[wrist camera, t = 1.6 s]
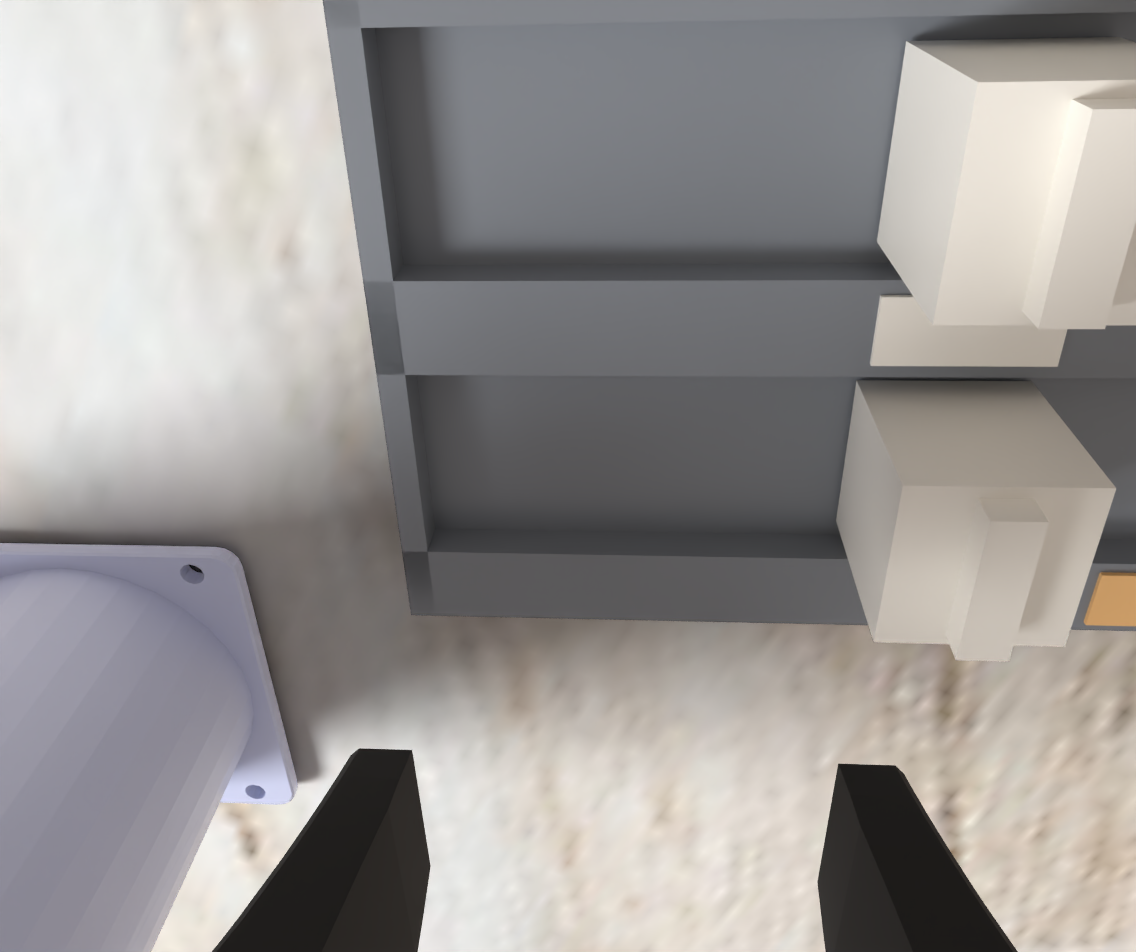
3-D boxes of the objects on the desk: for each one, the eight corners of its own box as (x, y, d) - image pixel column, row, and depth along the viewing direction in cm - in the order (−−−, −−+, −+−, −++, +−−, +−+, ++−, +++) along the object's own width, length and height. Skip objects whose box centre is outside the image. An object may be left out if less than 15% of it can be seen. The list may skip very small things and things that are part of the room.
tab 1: (877, 241, 16) (945, 343, 12) (906, 40, 14) (994, 91, 11) (1066, 240, 15) (1192, 344, 12) (1118, 37, 14) (1280, 87, 10)
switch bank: (427, 562, 21) (410, 617, 19) (275, -632, 12) (216, -717, 10) (1256, 577, 20) (1310, 638, 18) (1837, -742, 10) (2057, -856, 9)
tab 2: (835, 520, 18) (882, 668, 15) (856, 380, 17) (913, 508, 13) (995, 523, 18) (1079, 672, 15) (1031, 381, 17) (1134, 511, 13)
